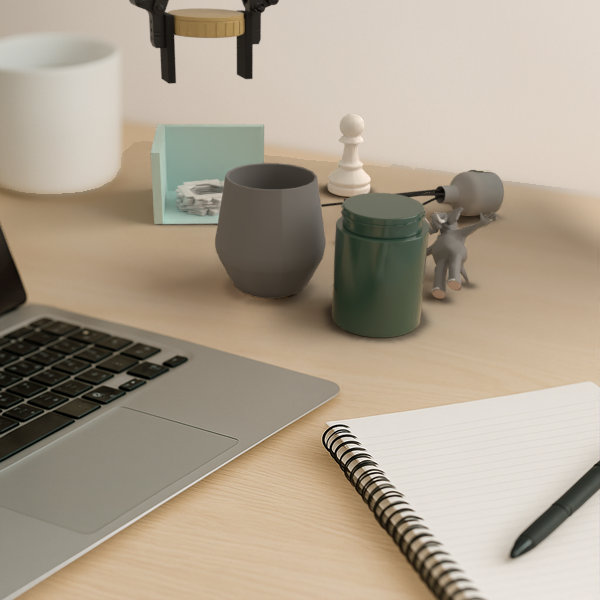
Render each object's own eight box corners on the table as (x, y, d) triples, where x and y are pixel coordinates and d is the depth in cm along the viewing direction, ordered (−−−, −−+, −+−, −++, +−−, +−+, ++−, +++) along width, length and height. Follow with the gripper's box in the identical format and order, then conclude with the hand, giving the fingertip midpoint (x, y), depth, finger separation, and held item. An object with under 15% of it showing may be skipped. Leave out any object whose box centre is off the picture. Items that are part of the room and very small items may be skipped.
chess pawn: (323, 184, 99) (326, 109, 95) (364, 183, 100) (369, 108, 96) (332, 198, 95) (335, 119, 91) (374, 196, 95) (379, 119, 92)
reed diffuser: (522, 163, 86) (358, 166, 77) (526, 229, 86) (363, 240, 77) (460, 176, 95) (307, 180, 86) (464, 236, 96) (312, 246, 86)
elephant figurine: (378, 295, 72) (387, 227, 78) (421, 334, 74) (427, 265, 80) (475, 244, 66) (476, 175, 72) (517, 288, 68) (515, 218, 75)
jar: (410, 297, 71) (420, 190, 67) (428, 337, 65) (440, 221, 60) (327, 298, 70) (332, 190, 66) (336, 338, 64) (342, 221, 60)
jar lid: (186, 25, 88) (185, 6, 87) (254, 30, 86) (254, 11, 85) (155, 34, 81) (154, 14, 80) (228, 40, 79) (228, 19, 79)
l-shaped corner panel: (154, 224, 86) (150, 153, 82) (160, 188, 96) (157, 124, 93) (270, 222, 87) (270, 152, 84) (263, 187, 98) (263, 124, 94)
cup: (209, 268, 76) (206, 162, 71) (308, 261, 78) (311, 157, 73) (226, 314, 67) (224, 196, 63) (336, 304, 69) (342, 190, 65)
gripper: (99, -186, 69) (117, 91, 79) (320, -171, 77) (311, 80, 87) (81, -180, 75) (100, 77, 85) (288, -166, 83) (283, 67, 93)
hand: (207, 78), depth 86 cm, fingers closed on jar lid, 7 cm apart
